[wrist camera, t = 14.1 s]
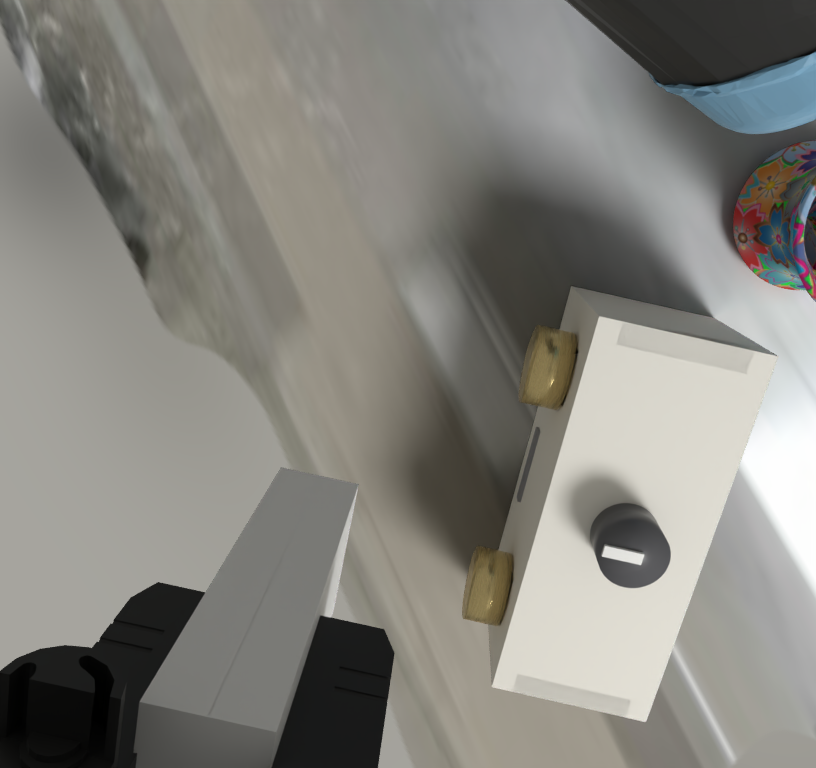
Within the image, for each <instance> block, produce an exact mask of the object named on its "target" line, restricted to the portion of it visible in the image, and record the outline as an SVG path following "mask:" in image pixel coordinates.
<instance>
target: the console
mask: <svg viewBox="0 0 816 768" xmlns="http://www.w3.org/2000/svg"><path fill="white" fill-rule="evenodd" d="M559 330H563V331H568V332H572V333H575V335H576V353H575V354H578V356H577V359H576V363H575V366H574V370H573V373H572V377H571V380H570V384H569V387H568V391H567V392H566V394H565V397H564V399H563V401H562V404H561V405H560V407H559V408H558V409H557V410H553V409H548V408H544V407H539V406H538V408H537V412H536V416H535V419H534V423H533V427H532V430H531V434H530V437H529V441H528V445H527V448H526V452H525V456H524V459H523V463H522V466H521V470H520V474H519V477H518V481H517V485H516V488H515V492H514V495H513V499H512V503H511V506H510V510H509V514H508V517H507V521H506V524H505V528H504V532H503V535H502V539H501V543H500V546H499V550H500V551H504V552H508V553H511V556H512V573H513V583H512V587H511V590H510V594H509V597H508V601H507V604H506V608H505V610H504V613H503V616H502V619H501V621H500V623H499V625H498V626H493V625H489V624H488V630H489V647H490V664H491V682H492V687H494V688H498V689H503V690H507V691H512V692H516V693H520V694H525V695H529V696H534V697H538V698H542V699H547V700H551V701H556V702H560V703H564V704H569V705H573V706H578V707H582V708H586V709H591V710H595V711H600V712H604V713H608V714H613V715H617V716H622V717H626V718H630V719H635V720H639V721H644V722H646V721H647V718H648V715H649V712H650V710H651V707H652V704H653V701H654V698H655V696H656V693H657V690H658V687H659V685H660V682H661V679H662V676H663V674H664V671H665V668H666V665H667V663H668V660H669V657H670V654H671V652H672V649H673V646H674V643H675V641H676V638H677V635H678V632H679V630H680V627H681V624H682V621H683V619H684V616H685V613H686V610H687V608H688V605H689V602H690V599H691V597H692V594H693V591H694V588H695V585H696V583H697V580H698V577H699V574H700V572H701V569H702V566H703V563H704V561H705V558H706V555H707V552H708V550H709V547H710V544H711V541H712V539H713V536H714V533H715V530H716V528H717V525H718V522H719V519H720V517H721V514H722V511H723V508H724V506H725V503H726V500H727V497H728V495H729V492H730V489H731V486H732V483H733V481H734V478H735V475H736V472H737V470H738V467H739V464H740V461H741V459H742V456H743V453H744V450H745V448H746V445H747V442H748V439H749V437H750V434H751V431H752V428H753V426H754V423H755V420H756V417H757V415H758V412H759V409H760V406H761V404H762V401H763V398H764V395H765V393H766V390H767V387H768V384H769V381H770V379H771V376H772V373H773V370H774V368H775V365H776V362H777V359H778V357H779V356H777V355H775V354H774V353H772V352H770V351H769V350H767V349H765V348H764V347H762V346H760V345H759V344H757V343H755V342H754V341H752V340H750V339H749V338H747V337H745V336H744V335H742V334H740V333H739V332H737V331H735V330H734V329H732V328H730V327H729V326H727V325H725V324H723V323H722V322H720V321H718V320H717V319H715V318H712V317H708V316H703V315H699V314H694V313H690V312H685V311H681V310H676V309H672V308H667V307H663V306H658V305H654V304H650V303H645V302H641V301H636V300H632V299H627V298H623V297H618V296H614V295H609V294H605V293H600V292H596V291H592V290H587V289H583V288H578V287H574V286H571V289H570V292H569V296H568V300H567V303H566V307H565V311H564V314H563V318H562V321H561V325H560V329H559ZM620 503H631V504H636V505H639V506H642V507H643V508H645V509H647V510H648V511H649V512H650V513H651V514H652V515H653V516H654V518H655V519H656V521H657V523H658V525H659V527H660V528H661V530H662V532H663V534H664V536H665V537H666V539H667V541H668V543H669V546H670V550H671V558H670V563H669V566H668V568H667V570H666V571H665V573H664V574H663V575H662V576H661V577H660V578H659V579H658V580H657V581H655V582H654V583H652V584H650V585H647V586H644V587H640V588H625V587H621V586H618V585H616V584H614V583H612V582H611V581H609V580H608V579H607V578H606V577H605V576H604V575H603V573H602V572H601V570H600V567H599V565H598V562H597V559H596V556H595V553H594V550H593V547H592V544H591V541H590V530H591V526H592V523H593V521H594V520H595V518H596V517H597V516H598V515H599V514H600V513H601V512H602V511H603V510H604V509H606V508H608V507H610V506H612V505H615V504H620Z"/></svg>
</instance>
